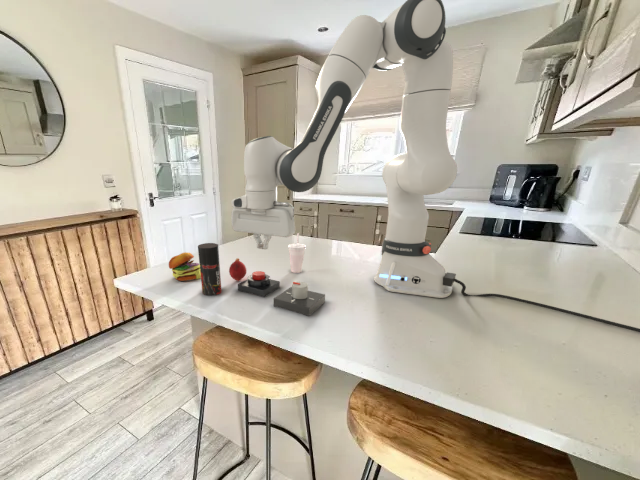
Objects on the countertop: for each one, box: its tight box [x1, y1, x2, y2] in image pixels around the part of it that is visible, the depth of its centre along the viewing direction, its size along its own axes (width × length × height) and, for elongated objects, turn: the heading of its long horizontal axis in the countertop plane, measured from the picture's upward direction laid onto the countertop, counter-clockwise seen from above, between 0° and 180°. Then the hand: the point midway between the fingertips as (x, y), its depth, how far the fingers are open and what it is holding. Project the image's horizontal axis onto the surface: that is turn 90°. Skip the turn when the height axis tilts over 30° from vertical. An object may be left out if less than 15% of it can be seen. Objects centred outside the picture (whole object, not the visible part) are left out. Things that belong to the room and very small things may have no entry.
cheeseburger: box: [168, 251, 201, 282], centre depth 108 cm, size 10×11×10 cm
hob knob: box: [291, 281, 309, 299], centre depth 85 cm, size 4×4×4 cm
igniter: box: [237, 273, 281, 298], centre depth 97 cm, size 10×9×4 cm
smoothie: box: [287, 232, 307, 274], centre depth 110 cm, size 6×6×14 cm
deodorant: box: [197, 242, 222, 297], centre depth 93 cm, size 6×6×15 cm
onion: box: [228, 257, 247, 282], centre depth 103 cm, size 6×6×8 cm
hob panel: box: [273, 286, 326, 317], centre depth 86 cm, size 11×10×3 cm
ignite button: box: [251, 270, 266, 280], centre depth 96 cm, size 4×4×2 cm
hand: (262, 248), depth 92 cm, fingers closed
